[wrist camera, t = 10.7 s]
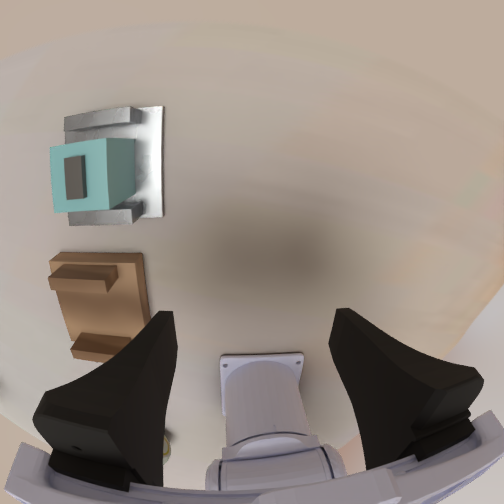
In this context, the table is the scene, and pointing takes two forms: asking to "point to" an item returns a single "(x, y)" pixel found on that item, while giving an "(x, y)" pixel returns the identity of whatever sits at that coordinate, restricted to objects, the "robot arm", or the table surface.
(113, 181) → the plug
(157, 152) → the lower dock
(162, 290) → the table surface
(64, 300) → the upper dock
